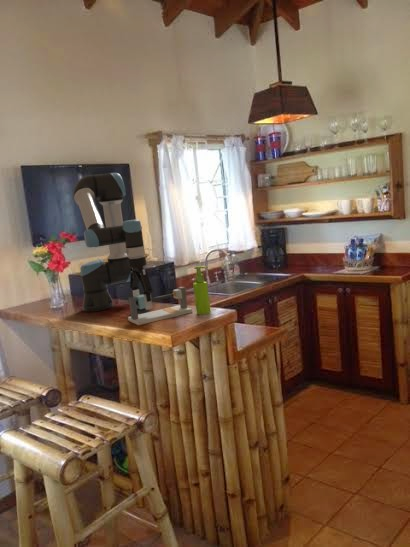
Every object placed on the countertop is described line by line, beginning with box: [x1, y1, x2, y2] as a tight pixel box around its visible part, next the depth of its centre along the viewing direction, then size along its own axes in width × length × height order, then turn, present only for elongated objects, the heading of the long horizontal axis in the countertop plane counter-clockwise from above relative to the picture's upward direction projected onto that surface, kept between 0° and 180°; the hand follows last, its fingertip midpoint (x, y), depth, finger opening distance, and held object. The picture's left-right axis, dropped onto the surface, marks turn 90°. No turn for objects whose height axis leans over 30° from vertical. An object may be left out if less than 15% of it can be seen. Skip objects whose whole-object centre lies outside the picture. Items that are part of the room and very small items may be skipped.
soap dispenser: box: [192, 265, 212, 315], centre depth 211 cm, size 6×7×20 cm
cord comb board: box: [127, 286, 193, 326], centre depth 215 cm, size 12×25×10 cm, turn 118°
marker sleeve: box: [134, 293, 146, 309], centre depth 211 cm, size 5×5×5 cm
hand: (143, 306), depth 212 cm, fingers open, 13 cm apart
